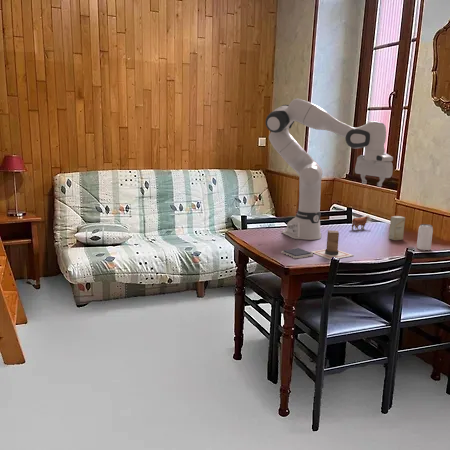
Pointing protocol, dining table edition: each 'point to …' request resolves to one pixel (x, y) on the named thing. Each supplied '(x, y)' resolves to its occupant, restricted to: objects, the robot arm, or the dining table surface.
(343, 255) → the marked board
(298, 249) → the ink pad
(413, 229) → the dining table surface
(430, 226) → the can
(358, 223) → the bull figurine
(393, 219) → the skincare box
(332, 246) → the stamp
